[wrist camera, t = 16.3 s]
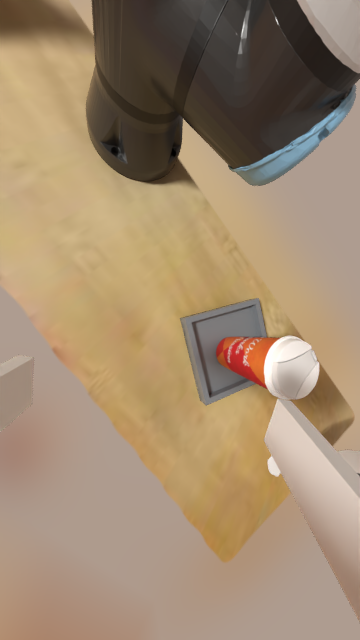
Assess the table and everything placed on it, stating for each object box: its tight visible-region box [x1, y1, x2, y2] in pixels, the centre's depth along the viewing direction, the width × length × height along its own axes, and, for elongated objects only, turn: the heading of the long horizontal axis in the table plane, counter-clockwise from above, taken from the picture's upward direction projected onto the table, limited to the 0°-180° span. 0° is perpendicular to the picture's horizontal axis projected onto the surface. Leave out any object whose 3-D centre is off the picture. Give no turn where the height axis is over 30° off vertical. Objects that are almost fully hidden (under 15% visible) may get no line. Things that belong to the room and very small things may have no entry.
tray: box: [180, 298, 267, 405], centre depth 38 cm, size 16×16×2 cm
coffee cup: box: [216, 336, 319, 400], centre depth 31 cm, size 8×8×15 cm
